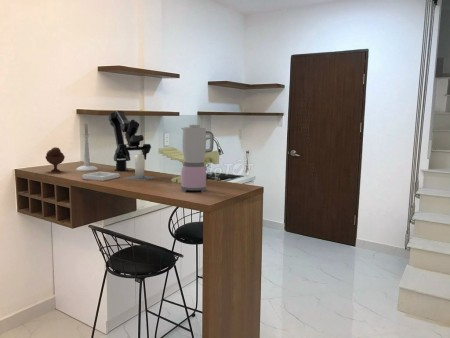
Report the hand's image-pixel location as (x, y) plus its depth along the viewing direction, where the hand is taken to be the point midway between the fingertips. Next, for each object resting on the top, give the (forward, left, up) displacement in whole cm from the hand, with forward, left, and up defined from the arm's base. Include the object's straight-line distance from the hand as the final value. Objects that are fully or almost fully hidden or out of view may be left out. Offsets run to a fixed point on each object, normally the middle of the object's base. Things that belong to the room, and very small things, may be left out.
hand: (137, 159), depth 211 cm
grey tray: (+13, -16, -10) cm, 23 cm away
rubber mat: (+2, +2, -10) cm, 11 cm away
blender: (+16, +45, -11) cm, 49 cm away
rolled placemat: (+2, +2, -10) cm, 10 cm away
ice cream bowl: (+7, -56, -11) cm, 57 cm away
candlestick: (-9, -46, -11) cm, 48 cm away
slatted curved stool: (-6, +29, -11) cm, 32 cm away
